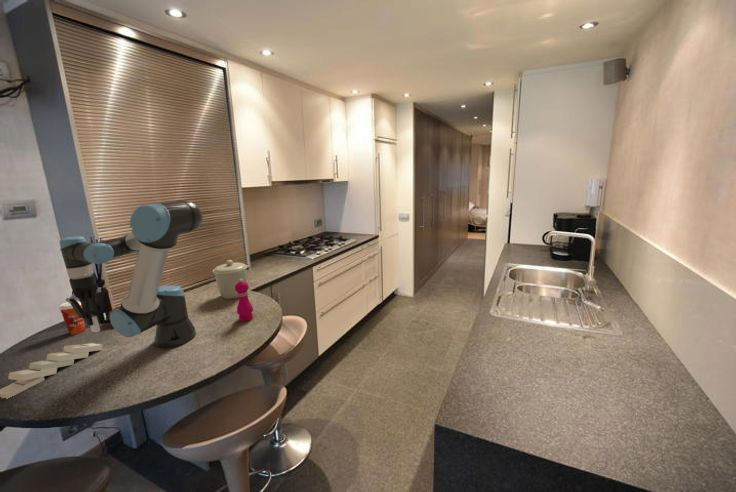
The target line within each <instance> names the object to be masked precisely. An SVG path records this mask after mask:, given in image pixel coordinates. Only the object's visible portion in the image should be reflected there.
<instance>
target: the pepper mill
mask: <svg viewBox="0 0 736 492" xmlns="http://www.w3.org/2000/svg"><path fill="white" fill-rule="evenodd" d="M249 287H250V286H249V283H248V281H247V282H243V279H239V282H238V283H237V284H236V285H235V290H236V291H237V296H238V304H237V307H236V314H237V315H239V316H238V320H239V321H240V322H247V321H251V320H253V319H254V314H253V311H254V306H253V304H252V303H251V301H250V299H249Z"/></svg>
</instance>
